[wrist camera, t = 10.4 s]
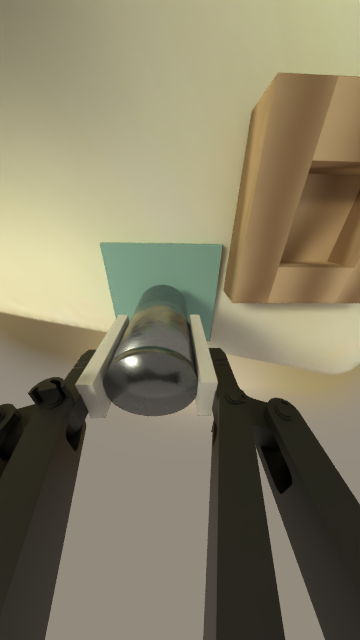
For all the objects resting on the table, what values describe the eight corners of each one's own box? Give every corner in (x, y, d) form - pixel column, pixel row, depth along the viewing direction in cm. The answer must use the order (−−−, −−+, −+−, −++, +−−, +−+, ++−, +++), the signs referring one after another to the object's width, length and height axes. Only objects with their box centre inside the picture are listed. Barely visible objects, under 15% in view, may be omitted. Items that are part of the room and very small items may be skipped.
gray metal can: (141, 327, 18) (113, 417, 10) (136, 284, 16) (91, 355, 7) (185, 327, 19) (195, 415, 10) (187, 284, 16) (202, 354, 7)
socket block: (223, 290, 19) (232, 302, 16) (251, 111, 12) (278, 72, 9) (337, 291, 20) (367, 303, 16) (430, 118, 12) (512, 84, 9)
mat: (122, 338, 22) (121, 341, 22) (102, 242, 16) (100, 243, 16) (208, 338, 23) (209, 341, 22) (221, 244, 16) (222, 244, 16)
